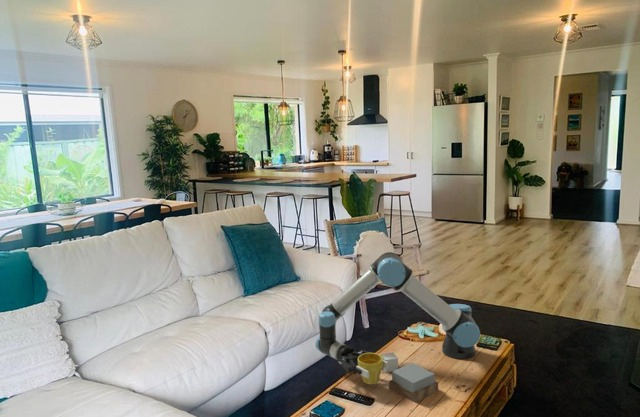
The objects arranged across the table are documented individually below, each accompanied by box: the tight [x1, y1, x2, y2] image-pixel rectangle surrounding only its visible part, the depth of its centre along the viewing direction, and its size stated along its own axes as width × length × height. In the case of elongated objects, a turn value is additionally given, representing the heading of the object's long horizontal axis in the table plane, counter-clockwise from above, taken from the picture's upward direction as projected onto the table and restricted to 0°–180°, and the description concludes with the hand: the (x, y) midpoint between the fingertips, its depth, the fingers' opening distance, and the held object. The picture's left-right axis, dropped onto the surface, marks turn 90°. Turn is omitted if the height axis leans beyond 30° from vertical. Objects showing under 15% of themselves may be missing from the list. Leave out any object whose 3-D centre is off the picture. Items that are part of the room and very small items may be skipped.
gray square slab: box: [391, 362, 436, 393], centre depth 187 cm, size 12×12×4 cm
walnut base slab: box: [388, 379, 439, 404], centre depth 187 cm, size 14×14×4 cm
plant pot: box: [357, 352, 383, 385], centre depth 190 cm, size 10×10×10 cm
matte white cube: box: [380, 352, 399, 373], centre depth 206 cm, size 6×6×6 cm
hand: (377, 370), depth 187 cm, fingers closed on plant pot, 10 cm apart
